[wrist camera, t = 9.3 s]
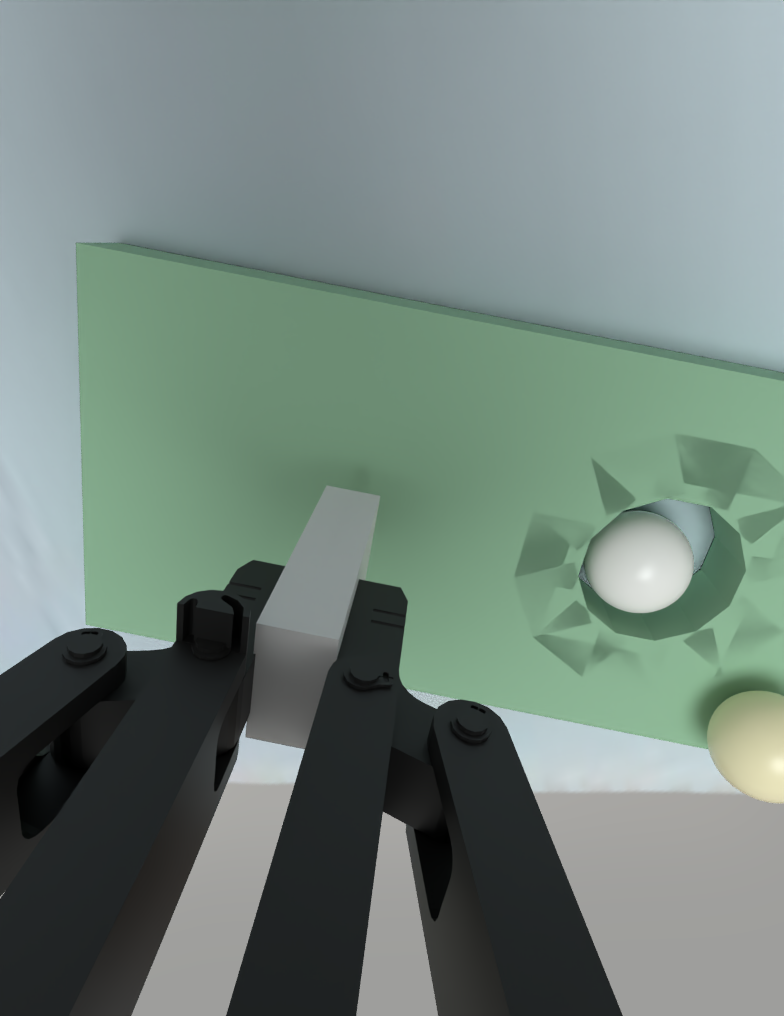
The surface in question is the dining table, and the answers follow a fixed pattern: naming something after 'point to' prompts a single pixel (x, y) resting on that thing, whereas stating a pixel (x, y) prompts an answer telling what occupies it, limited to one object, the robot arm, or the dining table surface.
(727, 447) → the green
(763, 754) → the yellow ball
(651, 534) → the ball
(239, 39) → the dining table surface
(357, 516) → the robot arm
